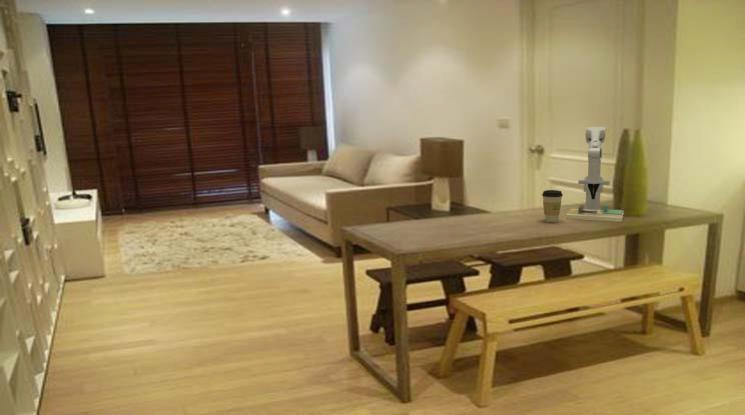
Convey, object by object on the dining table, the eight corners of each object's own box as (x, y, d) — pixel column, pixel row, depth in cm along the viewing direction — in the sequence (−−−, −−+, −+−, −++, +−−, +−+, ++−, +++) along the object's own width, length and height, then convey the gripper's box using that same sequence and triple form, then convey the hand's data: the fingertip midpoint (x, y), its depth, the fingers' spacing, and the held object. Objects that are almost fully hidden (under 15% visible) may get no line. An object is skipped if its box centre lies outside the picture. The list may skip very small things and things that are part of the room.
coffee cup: (564, 223, 299) (565, 192, 296) (544, 223, 299) (544, 193, 296) (558, 218, 308) (559, 189, 306) (539, 219, 309) (539, 190, 306)
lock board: (570, 212, 323) (570, 206, 322) (623, 215, 312) (623, 209, 311) (566, 218, 308) (566, 212, 308) (621, 221, 298) (622, 215, 297)
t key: (580, 210, 317) (580, 204, 316) (597, 211, 313) (598, 205, 313) (578, 213, 309) (578, 208, 308) (596, 214, 305) (596, 209, 305)
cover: (603, 211, 311) (603, 203, 311) (622, 212, 308) (622, 204, 307) (601, 215, 303) (602, 206, 303) (621, 216, 300) (621, 207, 299)
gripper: (577, 172, 302) (577, 199, 305) (609, 173, 296) (608, 201, 299) (579, 170, 309) (578, 197, 311) (610, 171, 303) (609, 198, 305)
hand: (593, 198), depth 306 cm, fingers closed
